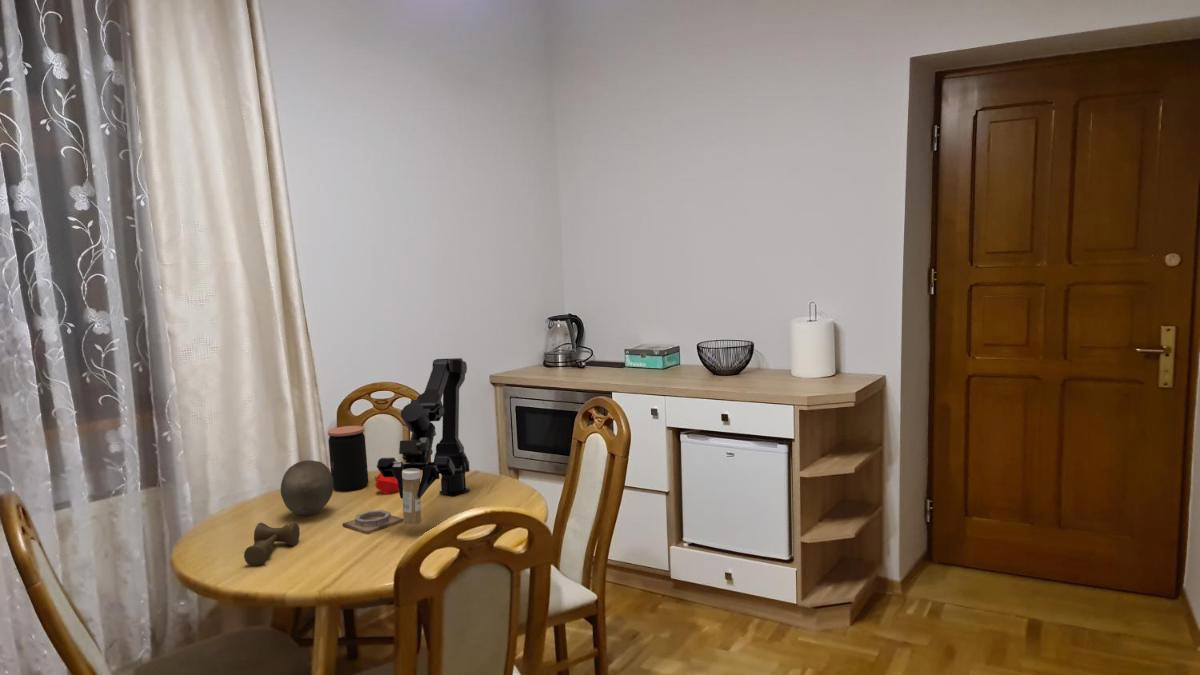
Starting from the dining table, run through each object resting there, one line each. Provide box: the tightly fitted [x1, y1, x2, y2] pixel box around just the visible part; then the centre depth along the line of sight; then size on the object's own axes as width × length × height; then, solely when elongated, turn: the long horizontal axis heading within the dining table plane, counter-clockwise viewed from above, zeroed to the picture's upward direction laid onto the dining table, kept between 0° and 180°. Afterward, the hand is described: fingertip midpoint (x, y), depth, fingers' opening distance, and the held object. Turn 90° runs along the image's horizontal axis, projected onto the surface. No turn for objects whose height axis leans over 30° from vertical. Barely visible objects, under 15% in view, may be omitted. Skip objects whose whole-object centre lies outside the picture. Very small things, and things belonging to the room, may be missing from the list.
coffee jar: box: [327, 425, 369, 493], centre depth 242 cm, size 11×11×18 cm
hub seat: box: [342, 510, 403, 535], centre depth 207 cm, size 11×11×2 cm
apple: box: [374, 473, 399, 495], centre depth 236 cm, size 7×7×8 cm
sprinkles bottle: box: [402, 468, 422, 526], centre depth 197 cm, size 5×5×14 cm
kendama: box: [243, 521, 301, 567], centre depth 191 cm, size 6×10×20 cm
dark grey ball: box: [280, 459, 334, 517], centre depth 217 cm, size 14×14×15 cm
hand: (410, 497), depth 196 cm, fingers closed on sprinkles bottle, 4 cm apart
